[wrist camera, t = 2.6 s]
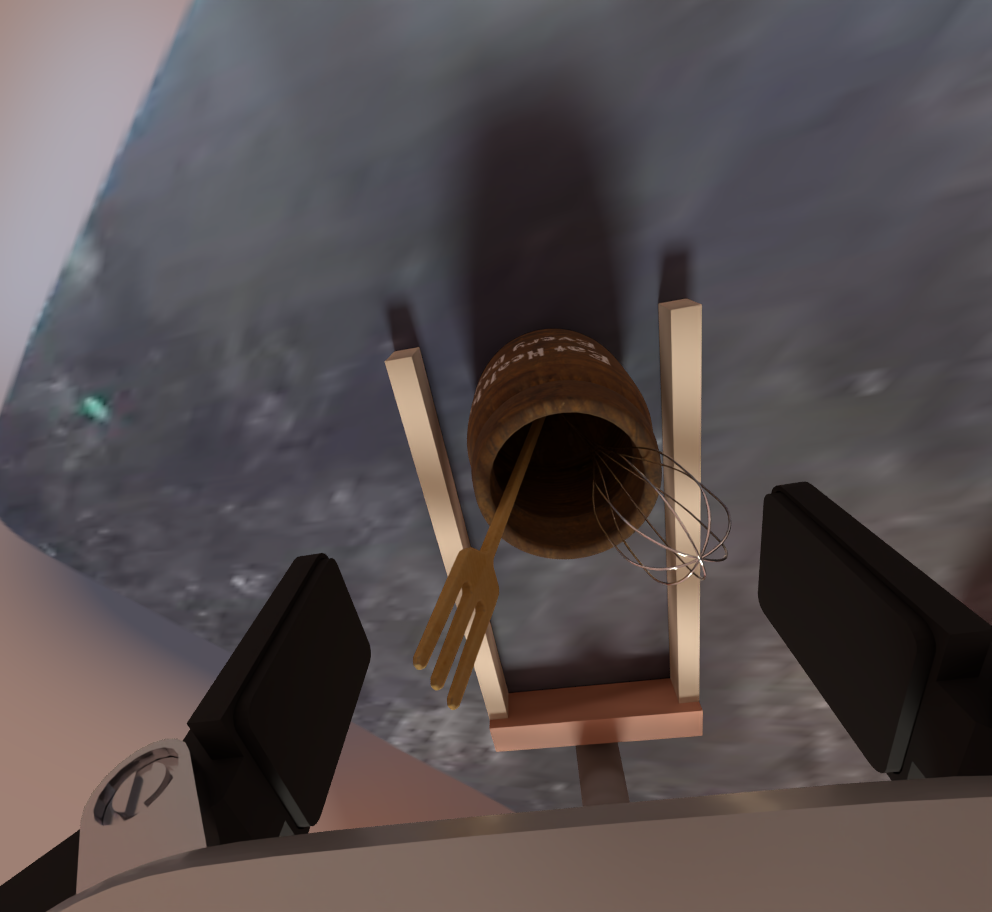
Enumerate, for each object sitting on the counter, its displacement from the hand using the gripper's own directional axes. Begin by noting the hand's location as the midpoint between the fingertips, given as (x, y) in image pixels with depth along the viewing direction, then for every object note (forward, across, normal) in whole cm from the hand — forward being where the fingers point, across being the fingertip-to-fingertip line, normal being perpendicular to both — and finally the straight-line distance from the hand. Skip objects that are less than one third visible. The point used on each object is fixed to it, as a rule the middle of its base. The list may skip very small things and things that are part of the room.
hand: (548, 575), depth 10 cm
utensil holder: (+10, -1, -1) cm, 10 cm away
